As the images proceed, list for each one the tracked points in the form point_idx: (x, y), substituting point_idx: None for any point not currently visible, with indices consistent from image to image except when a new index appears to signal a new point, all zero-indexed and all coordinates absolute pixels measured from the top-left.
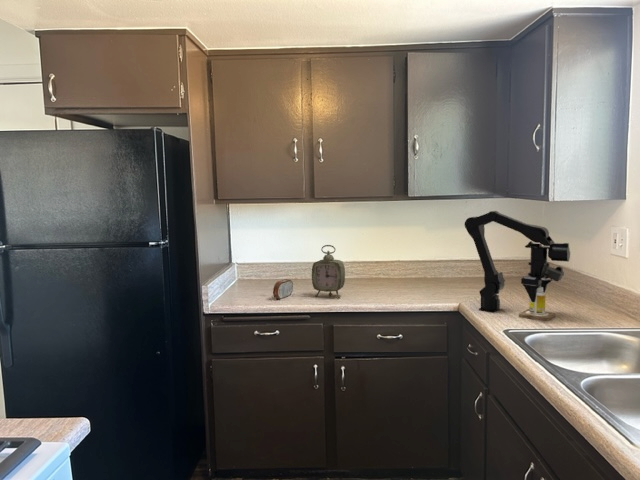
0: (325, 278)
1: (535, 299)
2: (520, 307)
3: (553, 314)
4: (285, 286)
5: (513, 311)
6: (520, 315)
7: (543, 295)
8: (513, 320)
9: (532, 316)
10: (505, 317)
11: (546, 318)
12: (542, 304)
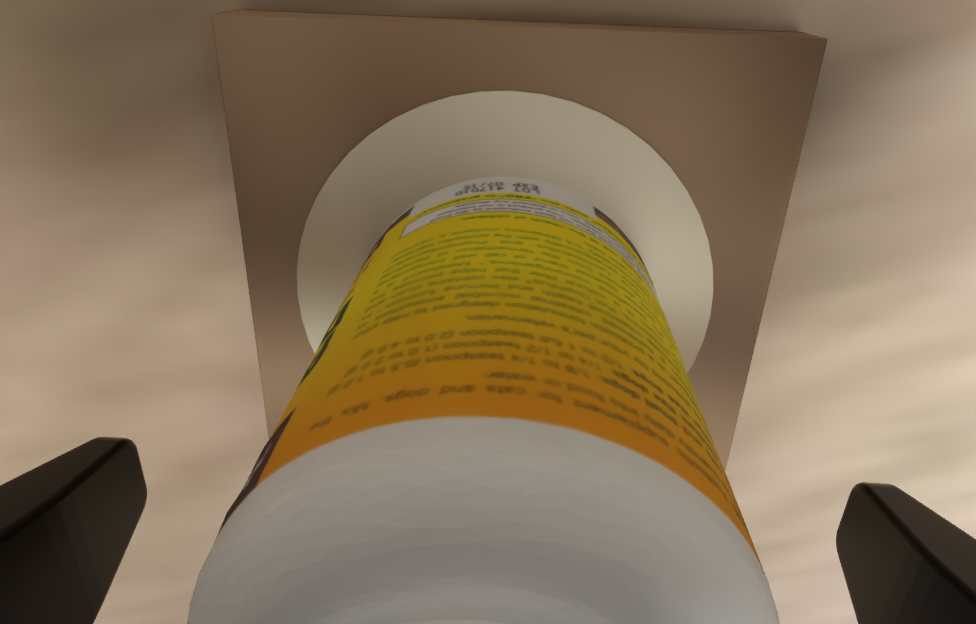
0: None
1: (905, 526)
2: (127, 585)
3: (340, 18)
4: None
5: None
6: None
7: (614, 447)
8: (972, 481)
9: (756, 311)
10: (834, 592)
11: (824, 38)
12: (610, 288)
